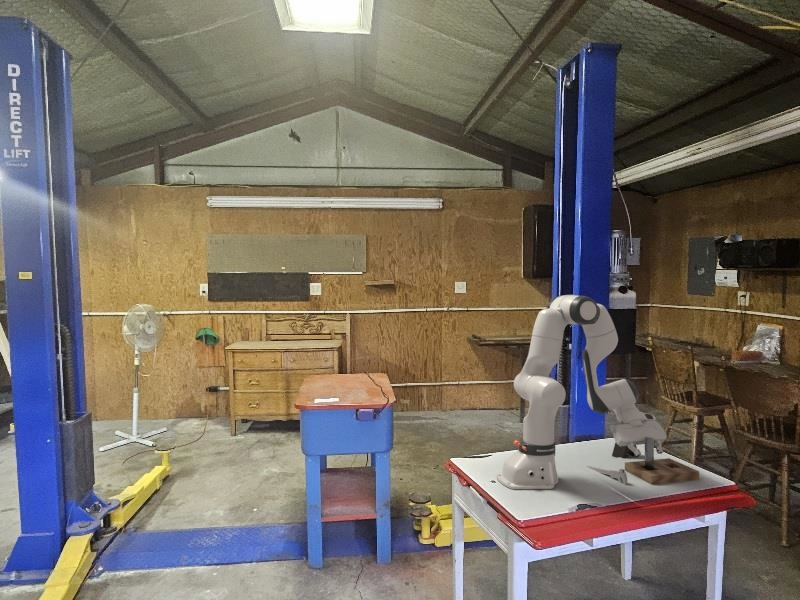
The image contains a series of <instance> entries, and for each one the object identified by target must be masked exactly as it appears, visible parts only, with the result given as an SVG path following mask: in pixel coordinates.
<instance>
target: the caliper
mask: <svg viewBox="0 0 800 600" xmlns="http://www.w3.org/2000/svg"><path fill="white" fill-rule="evenodd" d="M586 467H587V468H588V469H591V470H592V471H593V470H594V471H595V472H597V473H599V474H602V475H603V474H604V475H608V476H610V478H611V479H612V478H613V479H617V480H618V482H619V483H621V484H622V483H623V485H624V486H628V475H627V472H625V468H623V469H622V468H619V469H618V470H615V469H605V468H601V467H595V466H591V465H586Z"/></svg>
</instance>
